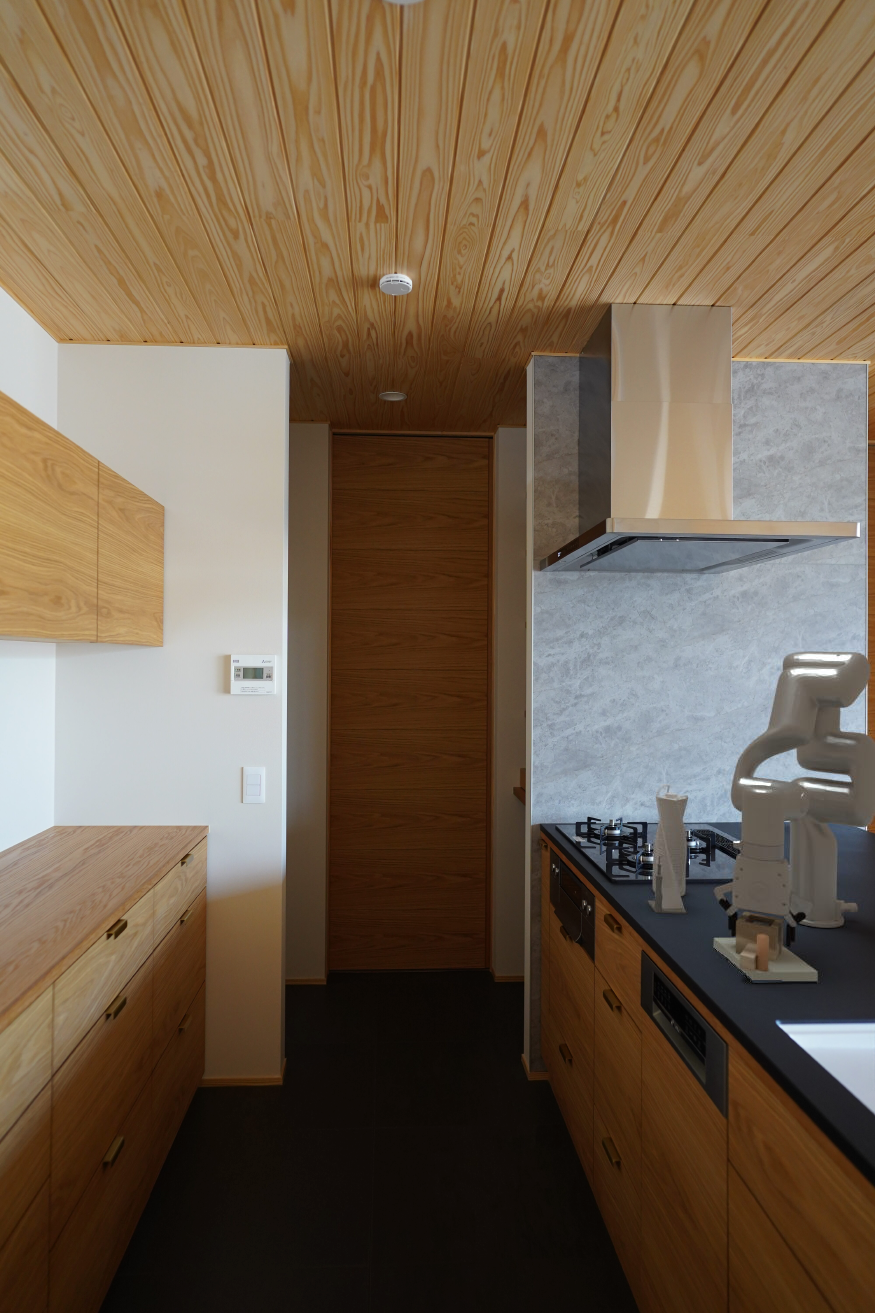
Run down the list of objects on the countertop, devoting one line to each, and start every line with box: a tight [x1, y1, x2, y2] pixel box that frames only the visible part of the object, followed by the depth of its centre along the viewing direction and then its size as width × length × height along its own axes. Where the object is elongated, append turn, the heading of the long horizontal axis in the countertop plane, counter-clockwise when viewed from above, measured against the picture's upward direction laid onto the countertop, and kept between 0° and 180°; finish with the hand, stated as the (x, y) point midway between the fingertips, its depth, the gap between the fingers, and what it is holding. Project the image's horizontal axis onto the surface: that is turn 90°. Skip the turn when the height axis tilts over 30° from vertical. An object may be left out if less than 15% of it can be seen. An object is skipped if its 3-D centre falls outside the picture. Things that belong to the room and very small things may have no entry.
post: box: [752, 920, 770, 927], centre depth 141 cm, size 3×3×6 cm
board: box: [713, 937, 819, 982], centre depth 140 cm, size 12×16×2 cm
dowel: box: [756, 934, 769, 972], centre depth 133 cm, size 2×2×6 cm
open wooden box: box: [735, 911, 784, 972], centre depth 138 cm, size 14×7×6 cm, turn 145°
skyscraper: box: [647, 784, 689, 915], centre depth 171 cm, size 8×8×28 cm
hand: (761, 939), depth 141 cm, fingers open, 9 cm apart
